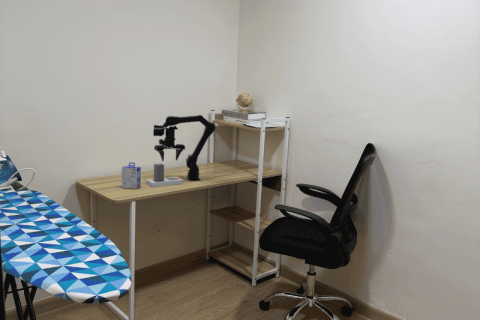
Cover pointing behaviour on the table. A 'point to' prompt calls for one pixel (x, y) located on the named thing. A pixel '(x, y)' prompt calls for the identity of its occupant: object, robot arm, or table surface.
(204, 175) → the table surface
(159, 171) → the block
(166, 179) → the power strip
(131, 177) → the ink cartridge box
